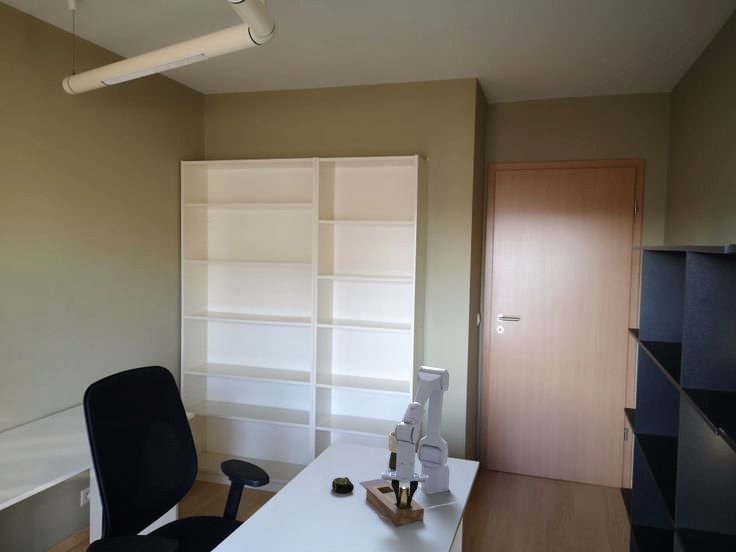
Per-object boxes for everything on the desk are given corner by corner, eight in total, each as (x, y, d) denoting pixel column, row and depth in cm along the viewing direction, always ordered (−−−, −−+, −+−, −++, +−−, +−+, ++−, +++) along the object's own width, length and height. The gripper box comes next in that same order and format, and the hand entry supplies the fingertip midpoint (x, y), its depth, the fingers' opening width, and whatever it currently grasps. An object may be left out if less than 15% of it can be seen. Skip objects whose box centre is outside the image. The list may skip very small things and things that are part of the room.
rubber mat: (383, 479, 210) (383, 478, 210) (397, 490, 201) (397, 489, 201) (358, 483, 206) (358, 482, 206) (371, 495, 197) (371, 494, 197)
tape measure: (354, 494, 197) (354, 483, 197) (334, 496, 195) (335, 485, 195) (348, 486, 204) (349, 475, 203) (329, 487, 201) (330, 477, 201)
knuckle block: (392, 494, 198) (392, 482, 198) (423, 520, 180) (423, 508, 180) (366, 499, 194) (366, 487, 193) (395, 526, 176) (395, 513, 175)
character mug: (396, 474, 215) (398, 440, 214) (381, 469, 219) (382, 435, 218) (412, 465, 224) (413, 432, 223) (396, 460, 228) (398, 428, 227)
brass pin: (404, 509, 184) (405, 485, 183) (409, 513, 181) (411, 488, 181) (396, 511, 182) (397, 487, 181) (402, 515, 179) (403, 490, 179)
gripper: (381, 464, 177) (380, 507, 178) (429, 467, 176) (427, 511, 177) (382, 456, 184) (380, 497, 185) (428, 459, 183) (426, 500, 184)
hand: (403, 503), depth 181 cm, fingers closed on brass pin, 3 cm apart
